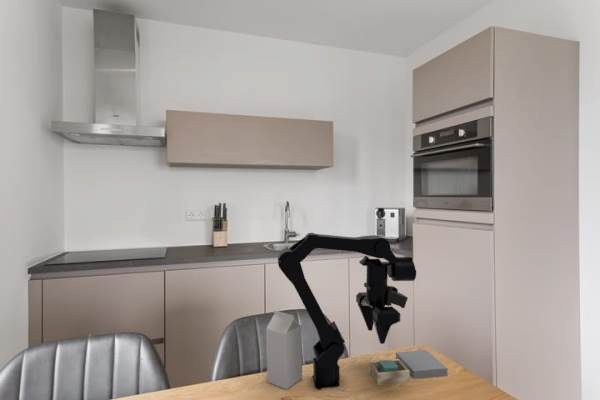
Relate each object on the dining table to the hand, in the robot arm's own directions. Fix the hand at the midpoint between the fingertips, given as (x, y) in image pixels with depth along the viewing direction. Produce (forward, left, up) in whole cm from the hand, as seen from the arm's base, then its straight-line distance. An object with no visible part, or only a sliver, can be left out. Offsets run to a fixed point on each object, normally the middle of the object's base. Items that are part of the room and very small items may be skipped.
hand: (375, 336), depth 96 cm
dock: (+15, +4, -12) cm, 20 cm away
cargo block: (+4, 0, -12) cm, 12 cm away
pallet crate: (+4, 0, -13) cm, 13 cm away
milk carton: (-25, +4, -12) cm, 29 cm away
